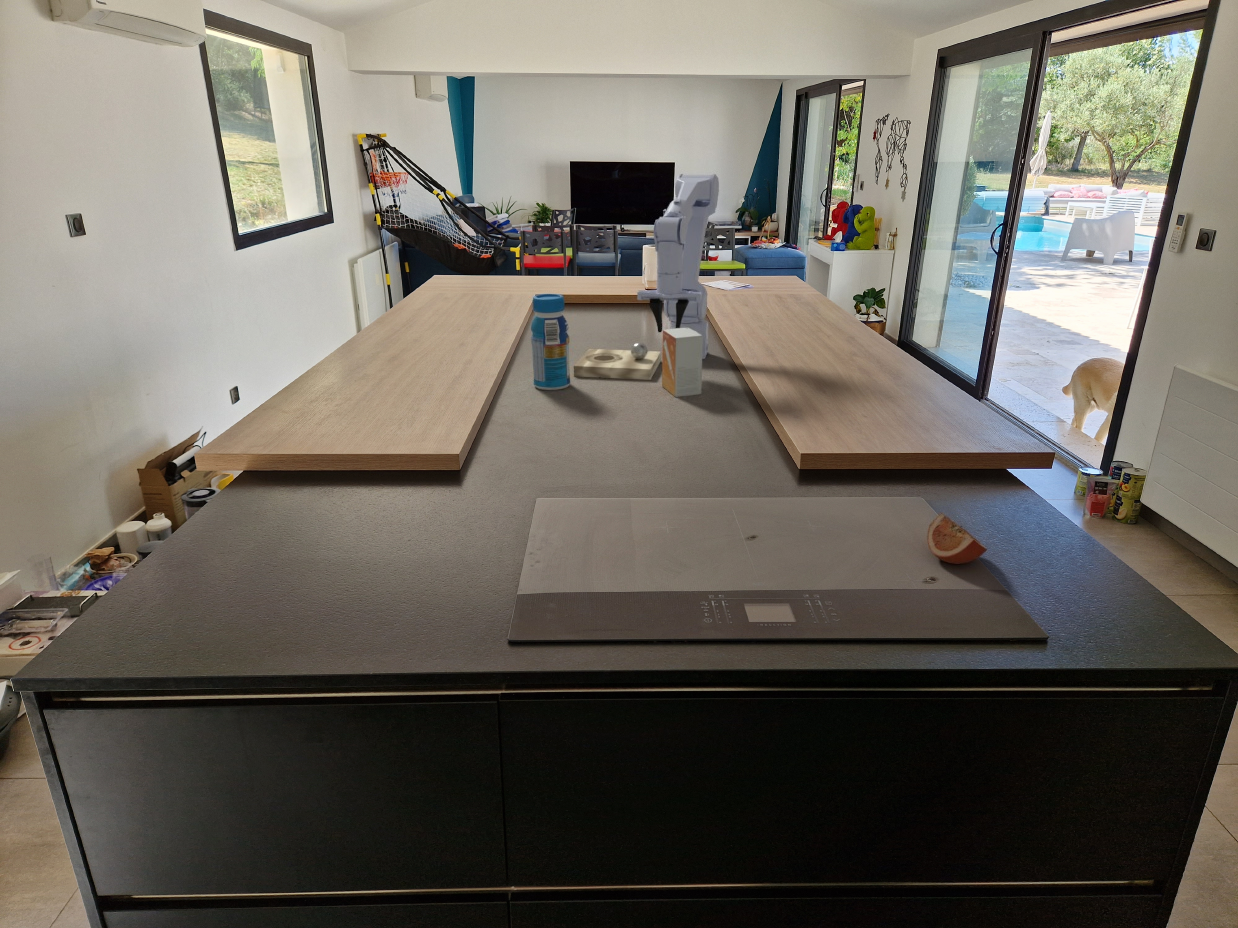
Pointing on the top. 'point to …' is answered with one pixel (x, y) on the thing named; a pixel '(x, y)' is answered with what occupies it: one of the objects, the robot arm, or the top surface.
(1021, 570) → the top surface
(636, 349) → the steel ball
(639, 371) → the hole plate
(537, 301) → the beverage bottle
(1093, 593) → the top surface
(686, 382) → the small box
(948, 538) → the fruit slice
